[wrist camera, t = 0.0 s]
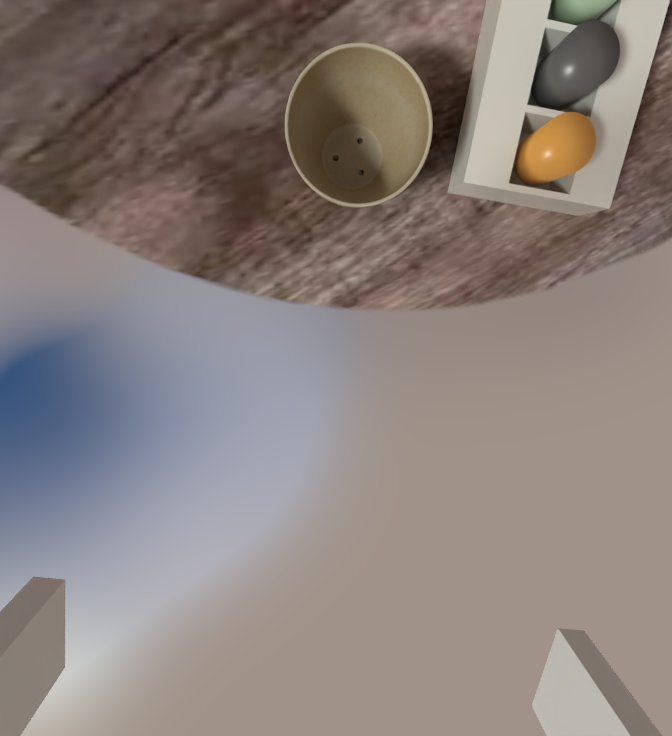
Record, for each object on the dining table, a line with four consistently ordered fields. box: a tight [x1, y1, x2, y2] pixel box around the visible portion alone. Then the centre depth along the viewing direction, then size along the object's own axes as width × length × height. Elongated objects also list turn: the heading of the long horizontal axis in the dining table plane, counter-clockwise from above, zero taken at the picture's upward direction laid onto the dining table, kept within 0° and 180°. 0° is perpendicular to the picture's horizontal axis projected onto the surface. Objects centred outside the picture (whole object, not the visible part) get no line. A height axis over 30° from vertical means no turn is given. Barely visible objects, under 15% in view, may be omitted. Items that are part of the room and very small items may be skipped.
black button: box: [531, 20, 620, 111], centre depth 29 cm, size 4×4×4 cm
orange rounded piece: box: [513, 112, 596, 187], centre depth 30 cm, size 4×4×4 cm
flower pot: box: [285, 42, 433, 208], centre depth 30 cm, size 10×10×7 cm
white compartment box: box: [448, 0, 670, 216], centre depth 31 cm, size 17×12×4 cm
